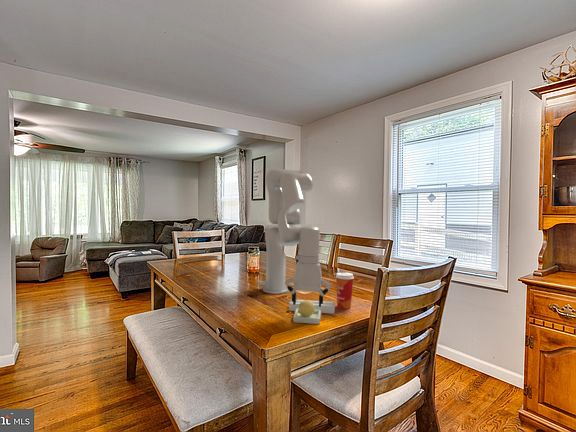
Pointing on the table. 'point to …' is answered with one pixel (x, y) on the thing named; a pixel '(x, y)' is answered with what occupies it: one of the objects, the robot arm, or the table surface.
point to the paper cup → (344, 290)
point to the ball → (306, 308)
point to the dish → (311, 319)
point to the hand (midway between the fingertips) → (307, 304)
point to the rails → (315, 306)
